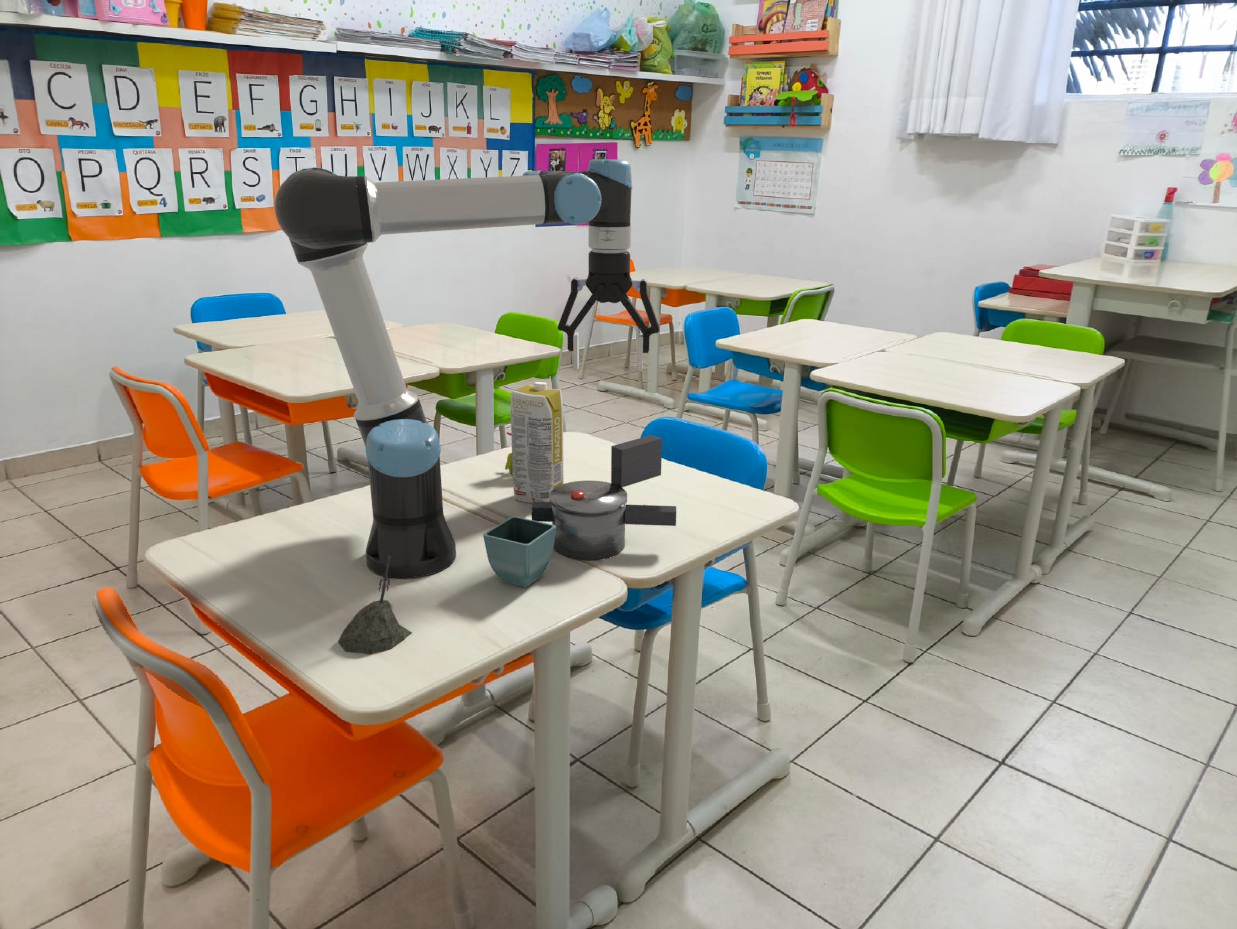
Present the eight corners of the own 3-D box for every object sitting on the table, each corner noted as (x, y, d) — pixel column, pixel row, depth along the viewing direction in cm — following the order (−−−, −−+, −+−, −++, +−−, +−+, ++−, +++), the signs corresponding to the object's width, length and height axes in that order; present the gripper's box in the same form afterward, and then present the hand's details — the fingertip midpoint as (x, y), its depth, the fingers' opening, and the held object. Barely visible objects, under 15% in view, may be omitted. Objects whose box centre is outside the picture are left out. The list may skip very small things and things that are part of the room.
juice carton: (568, 496, 179) (567, 382, 170) (547, 509, 172) (545, 392, 164) (530, 488, 183) (527, 376, 175) (508, 500, 176) (504, 385, 168)
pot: (528, 558, 152) (526, 513, 149) (538, 528, 164) (537, 486, 161) (675, 564, 150) (676, 518, 147) (674, 532, 163) (676, 490, 160)
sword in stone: (360, 664, 121) (350, 586, 117) (330, 645, 126) (320, 569, 122) (421, 636, 128) (413, 561, 124) (390, 619, 133) (382, 547, 129)
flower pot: (483, 584, 143) (481, 533, 140) (514, 563, 150) (512, 514, 147) (528, 596, 139) (527, 545, 136) (557, 574, 146) (557, 525, 143)
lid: (583, 521, 145) (583, 475, 142) (534, 497, 155) (533, 454, 152) (681, 488, 160) (683, 445, 157) (631, 468, 169) (631, 428, 166)
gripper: (540, 251, 154) (542, 371, 161) (675, 253, 153) (671, 375, 160) (546, 246, 161) (548, 362, 168) (675, 249, 160) (671, 365, 167)
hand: (608, 369), depth 164 cm, fingers open, 11 cm apart
